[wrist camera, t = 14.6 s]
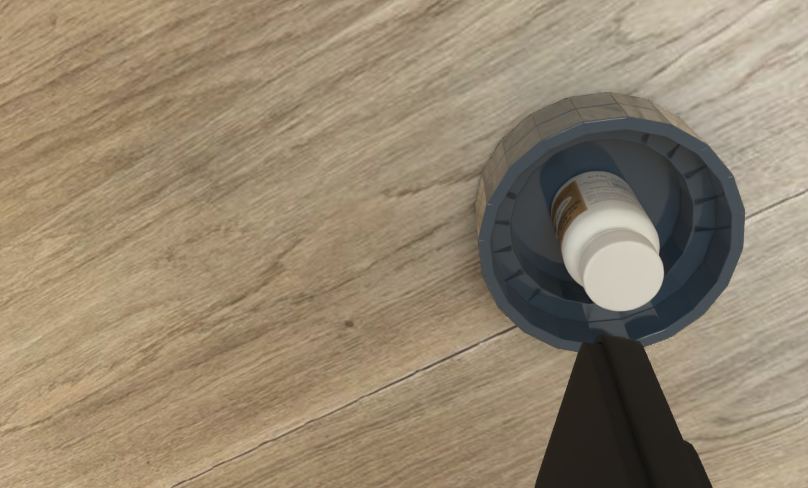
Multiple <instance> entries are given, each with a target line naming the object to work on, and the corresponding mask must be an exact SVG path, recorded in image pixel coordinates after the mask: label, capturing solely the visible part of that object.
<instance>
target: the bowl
mask: <svg viewBox="0 0 808 488" xmlns="http://www.w3.org/2000/svg"><path fill="white" fill-rule="evenodd" d="M590 171H604V172H609V173H612V174H614V175H616V176H618V177H620V178H621V179H623V180H624V181H625V182H626V183H627V184H628V185H629V186H630V188H631V189H632V191H633V192H634V194H635V196H636V197H637V199H638V201H639V202H640V204H641V206H642V207H643V209H644V211H645V212H646V214H647V215H648V217H649V219H650V220H651V222H652V224H653V226H654V227H655V229H656V231H657V234H658V238H659V244H660V249H659V257H660V258H661V261H662V264H663V268H664V277H663V282H662V285H661V287H660V289H659V291H658V292H657V294H656V295H655V296H654V297H653V298H652V299H651V300H650V301H649V302H647V303H646V304H644V305H642V306H640V307H638V308H636V309H633V310H628V311H612V310H608V309H605V308H602V307H600V306H599V305H597V304H596V303H595V302H593V301H592V300H591V299H590V297H589V296H588V295H587V293H586V291H585V289H584V287H583V286H581V285H580V284H578V283H577V282H576V281H575V280H574V279H573V278H572V277H571V275H570V274H569V272H568V270H567V269H566V266H565V264H564V261H563V257H562V254H561V251H560V248H559V244H558V241H557V238H556V235H555V230H554V227H553V224H552V220H551V207H552V202H553V199H554V197H555V195H556V193H557V192H558V190H559V189H560V188H561V187H562V185H563V184H565V183H566V182H567V181H568V180H570V179H571V178H573V177H575V176H577V175H579V174H582V173H585V172H590ZM475 213H476V225H477V236H478V246H479V255H480V264H481V273H482V277H483V279H484V281H485V283H486V285H487V287H488V289H489V291H490V293H491V295H492V297H493V299H494V301H495V303H496V305H497V306H498V308H499V309H500V310H501V311H502V312H503V313H504V314H505V315H506V316H507V317H508V318H509V319H511V320H512V321H513V322H514V323H515V324H516V325H517V326H518V327H519V328H520V329H521V330H522V331H524V332H525V333H527V334H529V335H531V336H533V337H535V338H537V339H539V340H541V341H543V342H545V343H547V344H549V345H551V346H553V347H555V348H558V349H564V350H569V351H575V352H578V351H579V349H580V346H581V345H582V343H583V342H591V343H594V340H595V339H596V337H597V336H598V335H600V334H603V335H609V336H615V337H620V338H626V339H632V340H637V341H640V342H641V344H642V345H643V347H646V346H648V345H651V344H654V343H657V342H660V341H662V340H665V339H668V338H669V337H672V336H673V335H675V334H676V333H678V332H679V331H681V330H682V329H684V328H685V327H686V326H688V325H689V324H691V323H692V322H694V321H695V320H697V319H698V318H700V317H701V316H702V315H704V314H705V312H706V311H707V310H708V309H709V308H710V306H711V305H712V304H713V303H714V302H715V300H716V299H717V298H718V297H719V296H720V294H721V293H722V292H723V291H724V290H725V288H726V287H727V286H728V284H729V282H730V279H731V277H732V275H733V272H734V270H735V267H736V265H737V263H738V260H739V258H740V255H741V253H742V249H743V243H744V224H745V209H744V206H743V203H742V200H741V197H740V194H739V191H738V188H737V185H736V182H735V178H734V176H733V175H732V173H731V171H730V170H729V169H728V168H727V167H726V166H725V164H724V163H723V162H722V161H721V160H720V158H719V157H718V156H717V155H716V154H715V152H714V151H713V150H712V149H711V148H710V146H709V145H708V144H707V143H706V142H705V141H704V140H703V139H702V138H701V137H700V136H699V135H697V134H696V133H695V132H694V131H693V130H692V129H691V128H690V127H689V126H688V125H687V124H686V123H685V122H684V121H683V120H682V119H681V118H680V117H678V116H677V115H675V114H673V113H671V112H670V111H668V110H666V109H664V108H662V107H661V106H659V105H657V104H655V103H654V102H652V101H650V100H647V99H644V98H639V97H633V96H628V95H622V94H617V93H612V92H609V93H607V92H606V93H598V94H590V95H583V96H575V97H570V98H566V99H564V100H562V101H559V102H557V103H555V104H553V105H550V106H548V107H546V108H544V109H542V110H539V111H537V112H535V113H533V115H532V114H531V115H530V116H529V117H527V118H526V119H525V120H524V121H523V122H522V123H521V124H519V125H518V126H517V127H516V128H515V129H514V130H513V131H511V132H510V133H509V134H508V135H507V136H506V137H504V138H503V140H501V142H500V144H499V145H498V147H497V149H496V150H495V152H494V154H493V155H492V157H491V158H490V160H489V162H488V163H487V165H486V167H485V168H484V170H483V173H482V177H481V181H480V185H479V190H478V194H477V198H476V203H475Z"/></svg>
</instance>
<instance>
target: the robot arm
mask: <svg viewBox="0 0 808 488" xmlns="http://www.w3.org/2000/svg"><path fill="white" fill-rule="evenodd" d="M535 488H712V485H711V483H710V481H709V479H708V476H707V474H706V472H705V470H704V467H703V465H702V463H701V461H700V458H699V456H698V454H697V452H696V450H695V449H694V447H693V446H692V444H690V443H689V442H687V441H684V440H683V438H682V436H681V433H680V431H679V429H678V426H677V424H676V422H675V419H674V417H673V415H672V412H671V410H670V408H669V405H668V403H667V401H666V398H665V396H664V394H663V391H662V389H661V387H660V384H659V382H658V380H657V377H656V375H655V373H654V370H653V368H652V366H651V363H650V361H649V359H648V356H647V354H646V352H645V349H644V347H643V345H642V344H641V342H640V341H637V340H632V339H626V338H620V337H615V336H609V335H603V334H600V335H598V336H597V337H596V339H595V340H594V343H591V342H583V343H582V345H581V346H580V349H579V351H578V355H577V358H576V361H575V364H574V367H573V370H572V373H571V376H570V379H569V382H568V385H567V388H566V391H565V394H564V397H563V400H562V403H561V407H560V410H559V413H558V416H557V419H556V422H555V425H554V428H553V431H552V434H551V437H550V440H549V443H548V446H547V449H546V452H545V455H544V459H543V462H542V465H541V468H540V471H539V474H538V477H537V480H536V484H535Z"/></svg>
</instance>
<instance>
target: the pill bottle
mask: <svg viewBox="0 0 808 488" xmlns="http://www.w3.org/2000/svg"><path fill="white" fill-rule="evenodd" d="M551 220H552V224H553V227H554V230H555V235H556V238H557V241H558V244H559V248H560V251H561V254H562V257H563V261H564V264H565V266H566V269H567V270H568V272H569V274H570V275H571V277H572V278H573V279H574V280H575V281H576V282H577V283H578V284H580V285H581V286H583V287H584V289H585V291H586V293H587V295H588V296H589V297H590V299H591V300H592V301H593V302H595V303H596V304H597V305H599V306H600V307H602V308H605V309H608V310H612V311H628V310H633V309H636V308H638V307H640V306H642V305H644V304H646V303H647V302H649V301H650V300H651V299H652V298H653V297H654V296H655V295H656V294H657V292H658V291H659V289H660V287H661V285H662V282H663V277H664V268H663V264H662V261H661V258H660V257H659V249H660V244H659V238H658V234H657V231H656V229H655V227H654V226H653V224H652V222H651V220H650V219H649V217H648V215H647V214H646V212H645V211H644V209H643V207H642V206H641V204H640V202H639V201H638V199H637V197H636V196H635V194H634V192H633V191H632V189H631V188H630V186H629V185H628V184H627V183H626V182H625V181H624V180H623V179H621V178H620V177H618V176H616V175H614V174H612V173H609V172H604V171H590V172H585V173H582V174H579V175H577V176H575V177H573V178H571V179H570V180H568V181H567V182H566V183H565V184H563V185H562V187H561V188H560V189H559V190H558V192H557V193H556V195H555V197H554V199H553V202H552V207H551Z"/></svg>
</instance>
